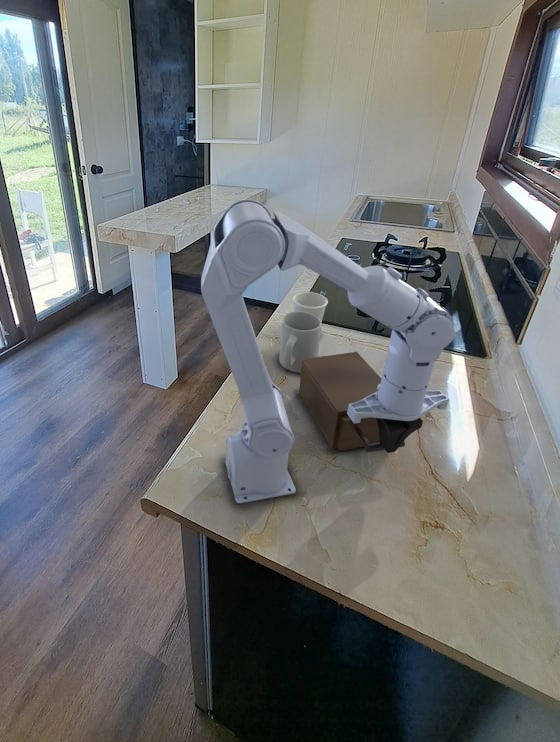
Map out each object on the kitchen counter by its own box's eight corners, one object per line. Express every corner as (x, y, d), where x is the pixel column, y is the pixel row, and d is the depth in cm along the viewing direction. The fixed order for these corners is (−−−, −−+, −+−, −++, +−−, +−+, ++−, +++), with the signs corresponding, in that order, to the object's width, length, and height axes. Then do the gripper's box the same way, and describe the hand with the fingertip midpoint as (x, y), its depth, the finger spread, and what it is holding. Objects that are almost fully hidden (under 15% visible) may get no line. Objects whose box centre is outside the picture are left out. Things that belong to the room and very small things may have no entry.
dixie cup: (288, 339, 96) (291, 305, 92) (291, 323, 104) (294, 290, 99) (323, 344, 94) (327, 309, 90) (323, 327, 101) (328, 293, 97)
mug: (287, 346, 94) (290, 307, 89) (321, 357, 89) (327, 316, 85) (267, 374, 85) (269, 332, 80) (304, 387, 80) (309, 343, 76)
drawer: (412, 461, 62) (421, 431, 59) (352, 472, 61) (358, 441, 58) (354, 389, 78) (359, 362, 75) (306, 396, 77) (309, 369, 74)
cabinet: (393, 439, 68) (403, 401, 64) (332, 449, 66) (338, 412, 62) (350, 385, 81) (356, 351, 77) (298, 392, 79) (302, 358, 75)
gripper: (432, 353, 57) (413, 421, 63) (342, 366, 55) (331, 434, 61) (469, 384, 51) (444, 455, 57) (369, 399, 49) (354, 471, 55)
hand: (387, 447), depth 59 cm, fingers closed
